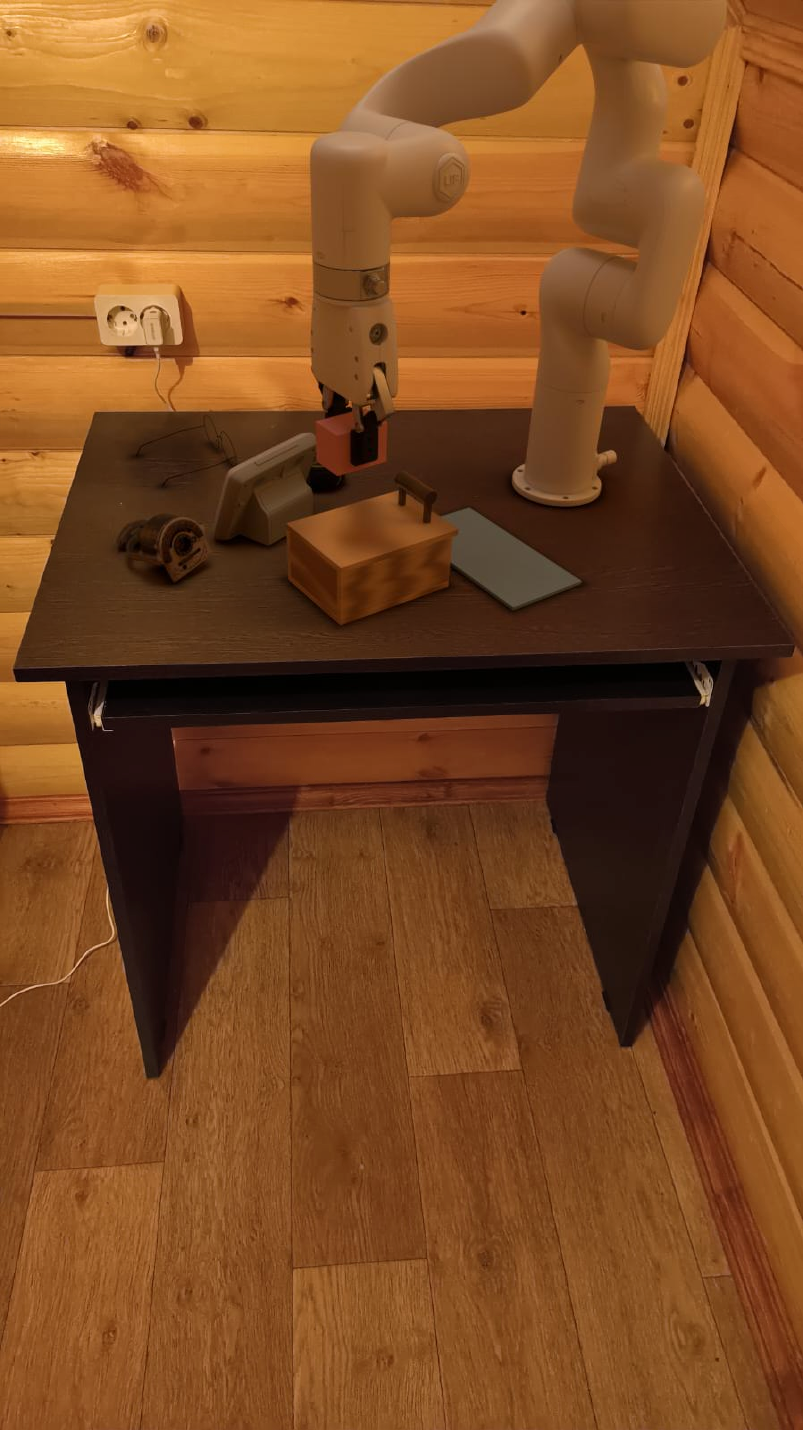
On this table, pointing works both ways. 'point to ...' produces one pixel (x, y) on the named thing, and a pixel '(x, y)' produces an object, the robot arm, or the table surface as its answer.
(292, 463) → the digital clock
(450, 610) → the table surface
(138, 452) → the eyeglasses
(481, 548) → the mat
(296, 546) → the pencil box
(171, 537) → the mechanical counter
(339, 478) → the tape measure
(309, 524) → the lid
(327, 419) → the eraser
